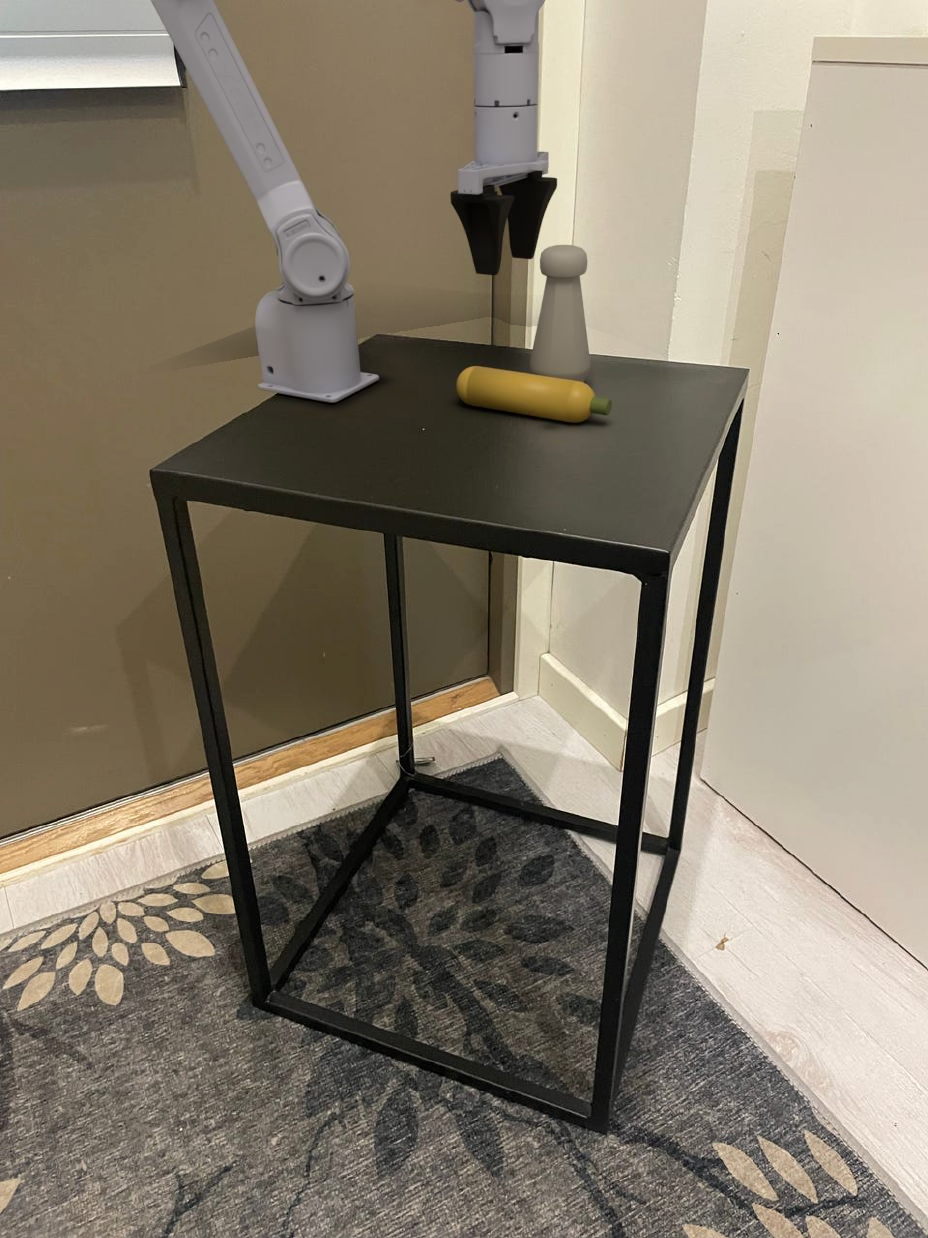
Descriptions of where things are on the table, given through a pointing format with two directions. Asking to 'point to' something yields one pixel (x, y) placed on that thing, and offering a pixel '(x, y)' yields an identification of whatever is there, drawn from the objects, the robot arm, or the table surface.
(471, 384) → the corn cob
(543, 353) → the salt shaker
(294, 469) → the table surface
